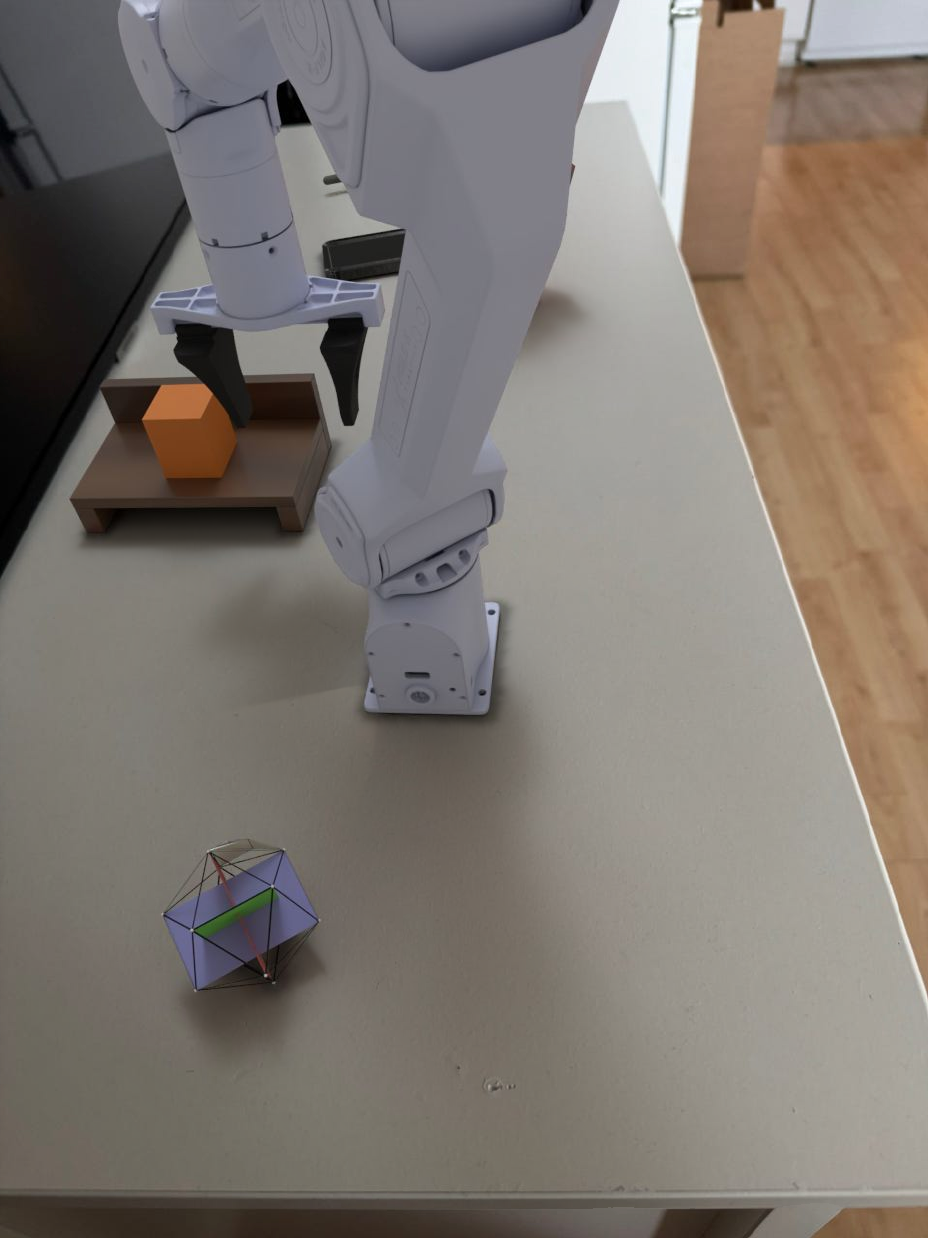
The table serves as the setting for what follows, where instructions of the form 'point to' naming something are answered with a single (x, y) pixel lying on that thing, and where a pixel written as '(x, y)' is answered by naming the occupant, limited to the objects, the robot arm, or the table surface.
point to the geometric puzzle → (240, 915)
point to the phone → (363, 255)
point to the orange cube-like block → (189, 432)
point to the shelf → (255, 475)
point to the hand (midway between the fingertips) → (297, 418)
